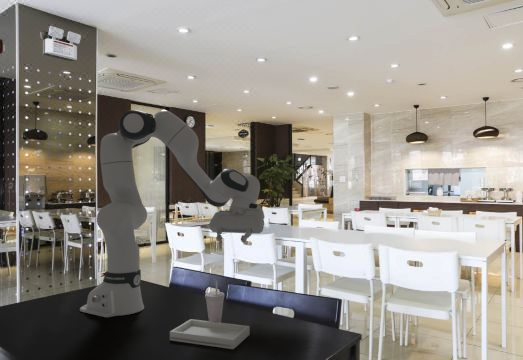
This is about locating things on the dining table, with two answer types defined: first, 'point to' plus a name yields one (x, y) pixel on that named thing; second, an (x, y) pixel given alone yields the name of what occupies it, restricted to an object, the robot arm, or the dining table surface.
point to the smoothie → (214, 305)
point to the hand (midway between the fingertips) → (230, 240)
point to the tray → (210, 333)
